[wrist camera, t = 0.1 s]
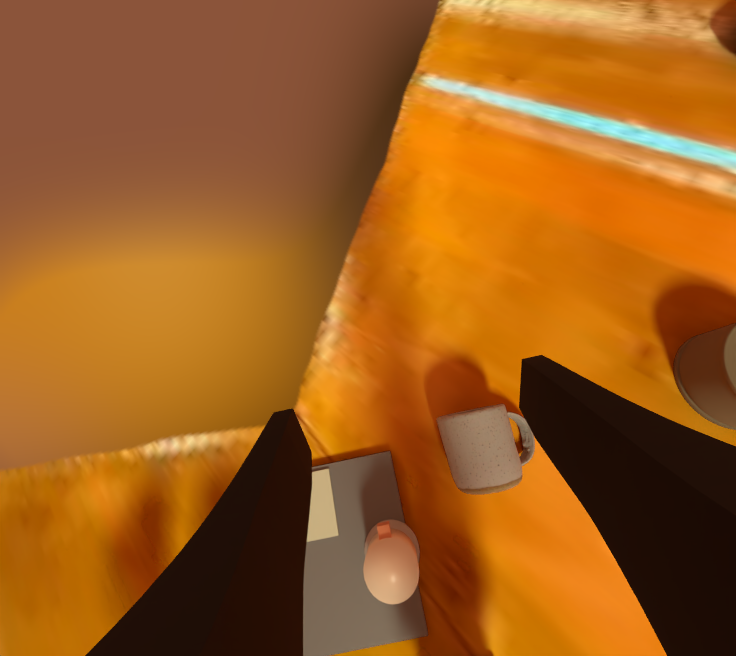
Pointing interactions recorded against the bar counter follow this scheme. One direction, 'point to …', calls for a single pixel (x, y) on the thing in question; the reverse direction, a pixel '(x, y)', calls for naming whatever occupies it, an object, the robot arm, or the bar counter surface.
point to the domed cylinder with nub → (391, 565)
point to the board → (352, 559)
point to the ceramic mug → (485, 448)
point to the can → (709, 375)
